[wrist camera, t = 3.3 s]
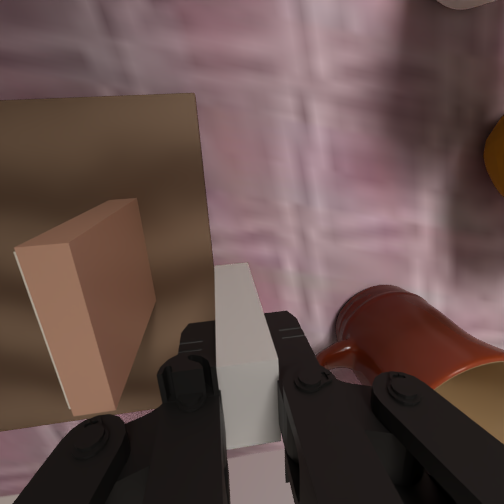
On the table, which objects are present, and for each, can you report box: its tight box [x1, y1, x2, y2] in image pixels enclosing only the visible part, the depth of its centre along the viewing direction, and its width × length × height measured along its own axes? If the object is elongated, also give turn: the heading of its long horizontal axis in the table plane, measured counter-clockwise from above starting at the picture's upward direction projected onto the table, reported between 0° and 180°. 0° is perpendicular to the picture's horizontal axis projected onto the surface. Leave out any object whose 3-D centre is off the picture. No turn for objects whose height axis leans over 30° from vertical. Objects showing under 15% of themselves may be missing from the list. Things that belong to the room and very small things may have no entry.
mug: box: [316, 285, 504, 444], centre depth 19 cm, size 12×9×10 cm
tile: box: [13, 198, 156, 416], centre depth 15 cm, size 7×2×9 cm, turn 3°
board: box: [0, 93, 215, 432], centre depth 20 cm, size 22×18×1 cm
